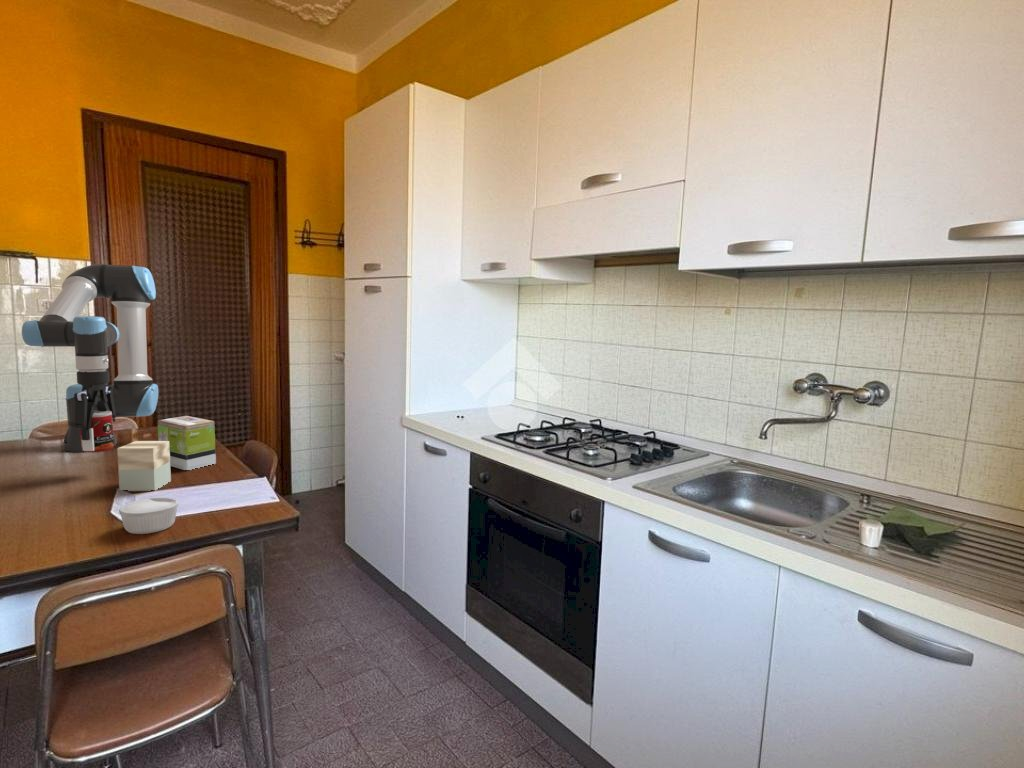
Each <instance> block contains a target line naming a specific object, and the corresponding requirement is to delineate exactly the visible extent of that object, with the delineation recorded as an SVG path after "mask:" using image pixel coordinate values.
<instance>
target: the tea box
mask: <svg viewBox="0 0 1024 768" xmlns="http://www.w3.org/2000/svg"><path fill="white" fill-rule="evenodd" d="M215 430H216V428H215V420H210V419H205V418H200V417H195V416H189V415H183V416H178V417H177V416H176V417H170V418H165V419H157V436H158V437H157V438H158V440H157V441H169V446H170V467H172V468H176V469H179V470H183V471H185V470H190V471H193V470H192V469H194V470H196V469H195V468H198V469H201V468H200V467H203V468H205V467H204V466H207V467H209V466H208V465H211V466H213V465H212V464H214V465H217V455H216V434H215Z"/></svg>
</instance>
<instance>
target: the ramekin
mask: <svg viewBox="0 0 1024 768" xmlns="http://www.w3.org/2000/svg"><path fill="white" fill-rule="evenodd" d="M178 508H179V501H178V500H177V499H175V498H169V497H151V498H150V497H149V498H144V499H138V500H134V501H131V502H128V503H125V504H123V505H121V507H119V509H118V513H119V515H120V516H121V521H122V524H123V528H124V529H125V531H127V532H128V533H130V534H134V535H135V534H137V535H143V534H145V535H147V534H151V533H152V534H153V533H157V532H161V531H164V530H166V529H169V528H170V527H172V526H173V525H174V524H175V521H176V517H177V511H178Z"/></svg>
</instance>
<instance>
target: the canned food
mask: <svg viewBox="0 0 1024 768" xmlns="http://www.w3.org/2000/svg"><path fill="white" fill-rule="evenodd" d="M91 428H93V434H94V448H95V450H94V451H84V452H85V453H100V452H108V451H111V450H113V449H114V448H115V446H114V437H113V433H114V421H113V419H112V412H111V411H98V410H96V411H94V413H93V415H92V424H91ZM80 434H81V429H80ZM81 446H82V435H81ZM82 450H83V446H82Z"/></svg>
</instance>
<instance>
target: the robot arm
mask: <svg viewBox="0 0 1024 768" xmlns="http://www.w3.org/2000/svg"><path fill="white" fill-rule="evenodd" d="M156 291H157V290H156V285H155V281H154V277H153V274H152V273H151V271H150V270H149V268H147V267H145V266H137V265H121V264H118V265H117V264H102V263H99V264H97V263H96V264H91V265H87V266H83V267H81V268H79V269H77V270H75V271H73V272H72V273H70V274H69V275H68V276H67V277H66V278H65V279H64V280H63V282H62V284H61V291H60V292H59V294H58V295H57V296H56V298H55V299H54V301H53V302H52V303H51V304H50V306H49V307H48V309H47V310H46V311H45V313H44V314H43V316H42V317H41V318H40V319H39V320H37V319H34V320H27V321H24V323H23V324H22V326H21V336H22V337H21V338H22V340H23V342H24V343H25V344H26V345H27V346H29V347H41V348H43V347H45V348H47V347H50V348H51V347H53V348H54V347H56V348H57V347H58V348H61V347H66V348H67V347H74V353H75V355H74V356H75V369H76V370H78V371H76V382H77V383H75V384H71V385H69V386H68V387H67V388H66V389H65V390H66V391H65V401H66V403H65V404H66V414H67V415H66V417H67V428H66V429H67V430H66V433H65V436H64V438H63V441H62V450H63V451H64V450H65V452H69V451H70V452H71V453H72V452H73V453H82V452H83V451H94V450H95V448H94V434H93V428H91V424H92V415H93V413H94V411H96V410H98V411H111V412H112V419H113V422H116V418H133V417H135V418H140V417H148V416H151V415H153V414H154V412H155V411H156V409H157V405H158V401H159V400H158V399H159V386H158V384H156V383H154V381H153V378H152V377H151V376H149V375H148V351H147V349H148V348H147V347H148V346H147V345H148V344H147V317H146V316H147V314H146V311H147V308H149V307H150V306H151V301H153V300H155V299H156V296H157V292H156ZM95 298H97V299H99V298H106V299H110V301H111V303H110V304H112V305H113V306H114V307H115V308H116V325H115V324H113V323H111V322H109V321H106V318H105V317H103V316H95V315H94V316H93V315H92V316H91V315H90V316H89V315H88V316H86V315H85V316H84V315H83V316H81V314H82V312H83V311H84V309H85V308H86V306H87V305H88V303H89V302H92V301H93V300H95ZM115 343H117V363H118V367H117V368H118V375H117V376H116V377H115V378H114V379H113V384H109V383H110V372H109V370H107V369H109V362H110V361H109V360H110V359H109V354H108V347H110V346H112V345H114V344H115ZM80 429H81V434H80ZM81 435H82V446H83V450H82V446H81ZM113 437H114V447H116V446H117V445H116V444H117V438H116V435H115V433H114V432H113Z"/></svg>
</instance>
